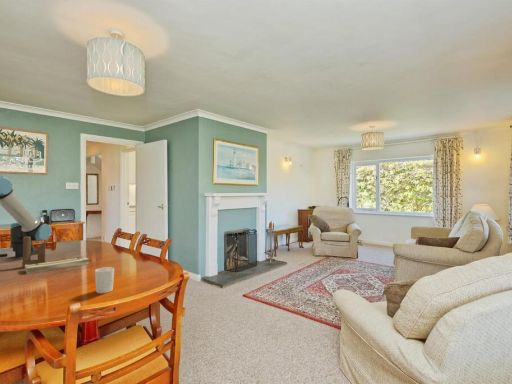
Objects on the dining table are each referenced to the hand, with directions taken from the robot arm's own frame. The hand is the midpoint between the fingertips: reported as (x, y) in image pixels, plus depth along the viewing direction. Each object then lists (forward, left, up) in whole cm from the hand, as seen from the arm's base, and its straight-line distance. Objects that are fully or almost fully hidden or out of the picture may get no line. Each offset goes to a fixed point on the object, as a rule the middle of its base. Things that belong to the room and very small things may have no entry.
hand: (14, 251), depth 162 cm
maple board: (+12, +19, -10) cm, 25 cm away
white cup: (+73, +26, -10) cm, 78 cm away
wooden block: (0, +9, -10) cm, 14 cm away
